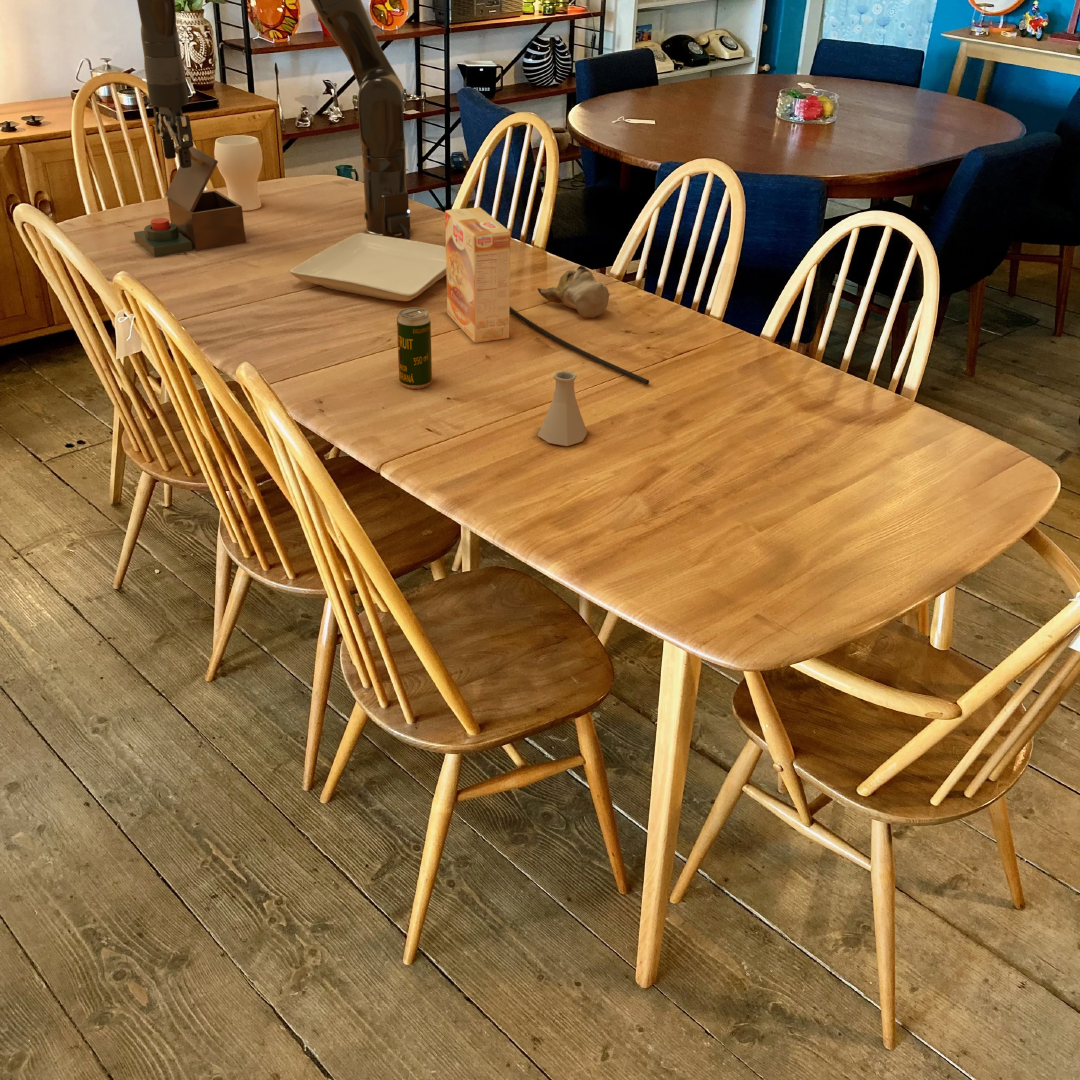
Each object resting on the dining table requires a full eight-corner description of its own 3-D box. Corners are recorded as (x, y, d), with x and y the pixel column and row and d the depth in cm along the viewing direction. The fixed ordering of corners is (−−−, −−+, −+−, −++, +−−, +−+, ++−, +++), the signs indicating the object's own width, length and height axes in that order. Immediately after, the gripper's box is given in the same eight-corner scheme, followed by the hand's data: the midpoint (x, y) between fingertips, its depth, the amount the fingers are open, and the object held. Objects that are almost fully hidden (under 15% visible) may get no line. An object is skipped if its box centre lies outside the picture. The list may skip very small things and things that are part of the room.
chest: (220, 225, 247) (216, 190, 242) (246, 242, 238) (241, 206, 233) (172, 233, 241) (166, 197, 237) (196, 251, 232) (191, 213, 228)
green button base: (192, 250, 232) (190, 231, 230) (155, 257, 228) (152, 238, 226) (171, 235, 240) (169, 216, 238) (135, 241, 236) (132, 222, 234)
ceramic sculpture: (577, 279, 199) (534, 259, 210) (576, 326, 203) (534, 304, 214) (626, 271, 204) (581, 252, 215) (623, 317, 208) (580, 296, 219)
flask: (556, 420, 171) (558, 360, 166) (595, 433, 168) (599, 373, 163) (529, 437, 166) (530, 376, 161) (569, 451, 163) (572, 390, 158)
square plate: (288, 288, 216) (286, 269, 213) (359, 247, 237) (358, 230, 235) (412, 311, 207) (411, 291, 205) (473, 267, 229) (473, 249, 227)
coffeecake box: (445, 313, 207) (443, 209, 196) (481, 309, 209) (481, 206, 199) (473, 343, 196) (472, 234, 185) (510, 338, 198) (512, 230, 187)
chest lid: (192, 146, 235) (171, 134, 232) (218, 161, 226) (196, 148, 222) (168, 196, 237) (146, 184, 233) (192, 212, 228) (170, 201, 224)
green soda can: (416, 373, 184) (413, 304, 178) (439, 382, 182) (437, 313, 175) (392, 382, 181) (389, 313, 174) (415, 392, 178) (413, 322, 172)
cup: (256, 214, 254) (248, 147, 246) (213, 210, 256) (204, 143, 248) (274, 202, 263) (268, 136, 255) (233, 198, 265) (225, 133, 257)
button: (172, 230, 232) (171, 221, 231) (155, 232, 230) (154, 224, 229) (166, 225, 234) (165, 216, 233) (149, 228, 233) (148, 219, 232)
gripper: (198, 83, 216) (209, 168, 225) (171, 71, 226) (182, 153, 235) (160, 87, 213) (173, 173, 222) (134, 74, 222) (148, 157, 231)
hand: (178, 162), depth 228 cm, fingers open, 8 cm apart
